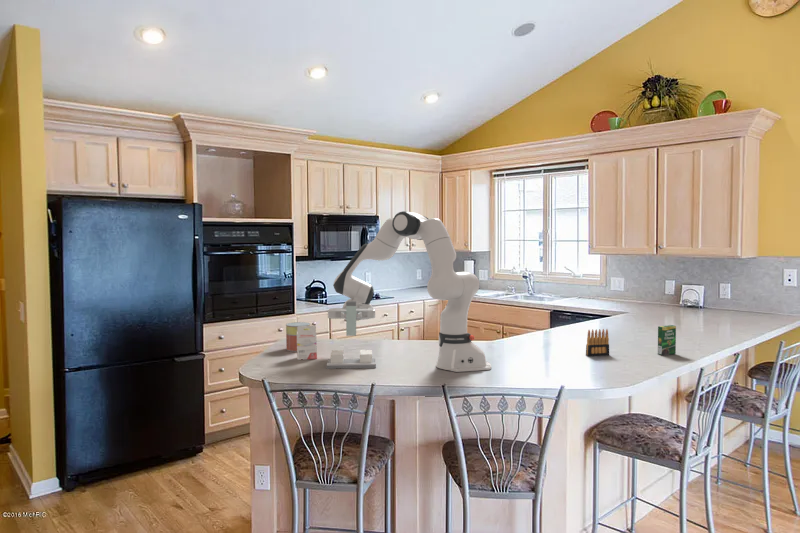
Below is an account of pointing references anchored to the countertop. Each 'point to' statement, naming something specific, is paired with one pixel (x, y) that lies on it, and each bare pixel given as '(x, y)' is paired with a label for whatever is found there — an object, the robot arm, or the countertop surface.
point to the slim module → (350, 318)
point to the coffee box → (666, 340)
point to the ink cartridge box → (306, 342)
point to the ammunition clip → (597, 343)
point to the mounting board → (351, 360)
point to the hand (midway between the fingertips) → (351, 316)
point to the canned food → (293, 335)
